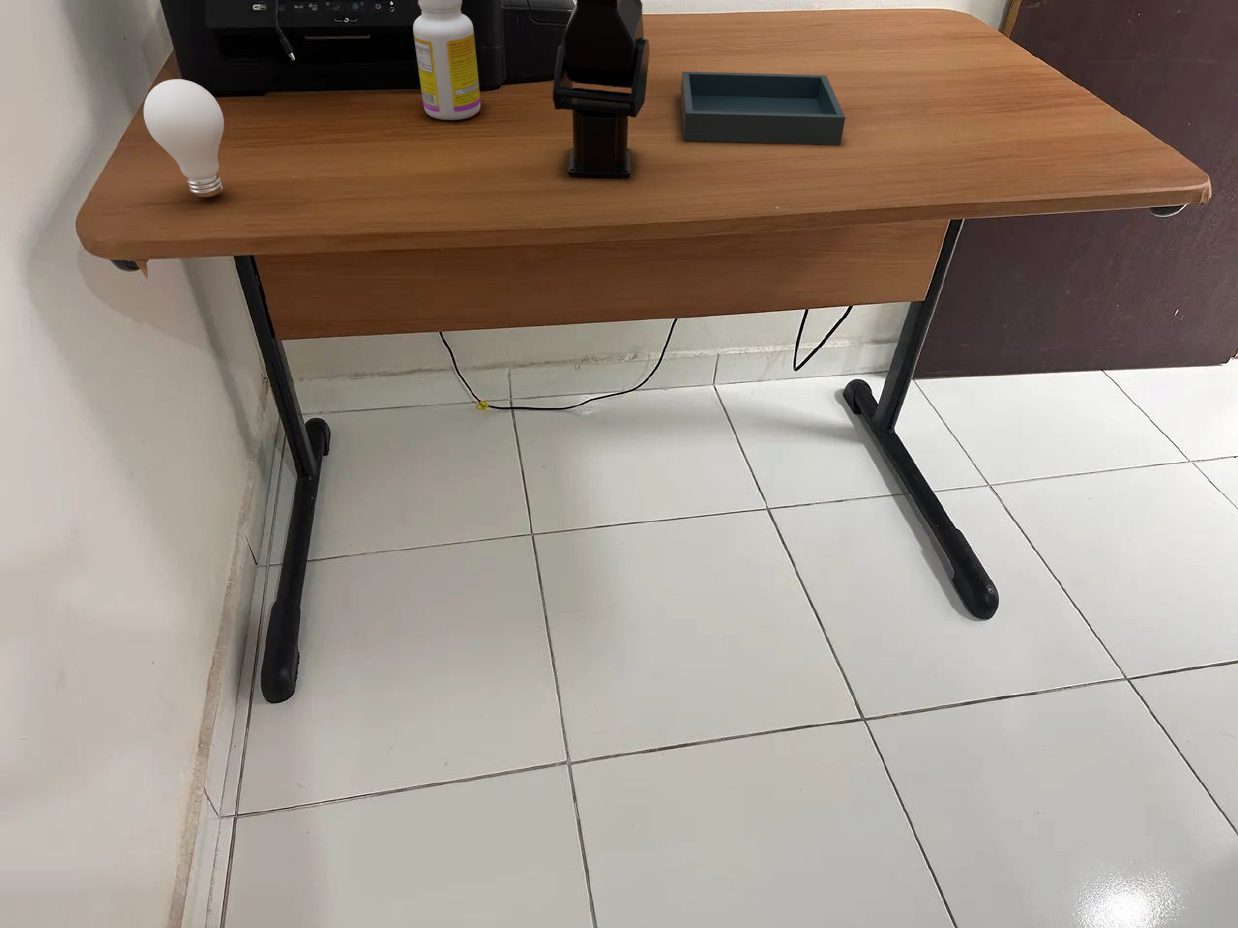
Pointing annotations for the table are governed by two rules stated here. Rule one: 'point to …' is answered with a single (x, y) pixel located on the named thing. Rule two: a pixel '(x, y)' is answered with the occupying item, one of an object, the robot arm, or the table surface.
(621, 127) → the robot arm
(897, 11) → the table surface
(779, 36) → the table surface
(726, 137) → the tray
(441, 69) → the supplement bottle
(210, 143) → the light bulb
